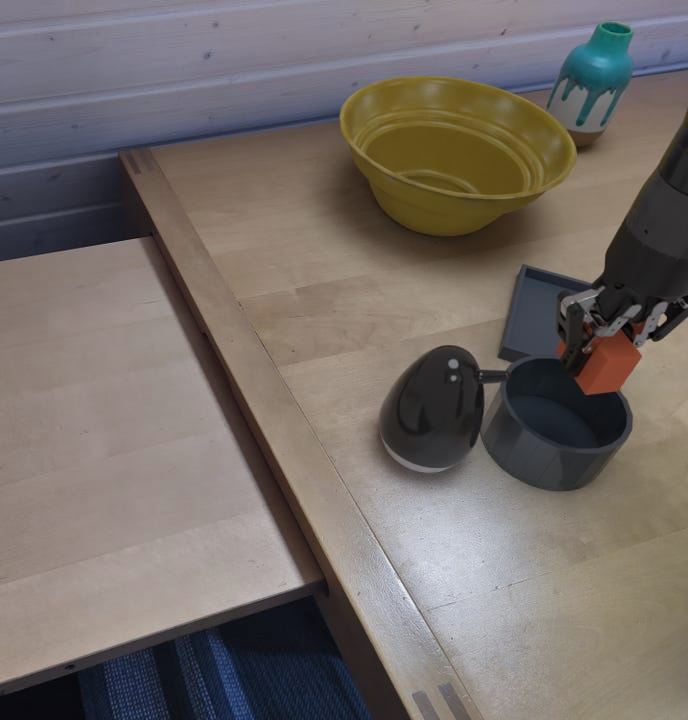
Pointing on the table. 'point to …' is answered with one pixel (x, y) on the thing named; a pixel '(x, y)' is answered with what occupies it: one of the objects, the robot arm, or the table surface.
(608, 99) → the vase
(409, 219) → the planter bowl
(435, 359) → the pump dispenser
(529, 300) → the tray
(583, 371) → the sponge
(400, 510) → the table surface
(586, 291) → the robot arm
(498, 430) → the crock
